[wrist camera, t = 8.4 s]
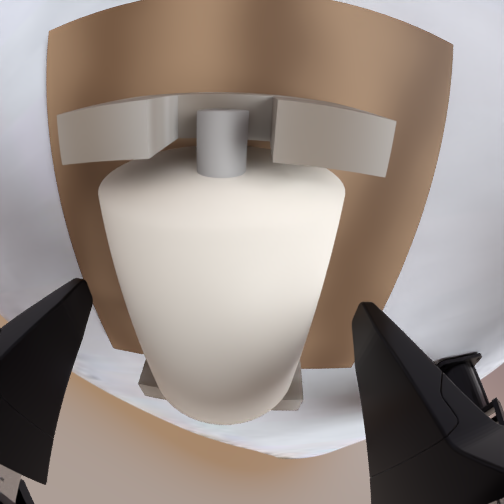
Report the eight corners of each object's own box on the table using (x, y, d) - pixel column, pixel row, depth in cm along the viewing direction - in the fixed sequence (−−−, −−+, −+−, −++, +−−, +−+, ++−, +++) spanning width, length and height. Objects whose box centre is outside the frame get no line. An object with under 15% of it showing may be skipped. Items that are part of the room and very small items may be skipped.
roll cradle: (440, 45, 7) (540, 49, 2) (348, 356, 18) (362, 430, 13) (61, 32, 7) (-36, 34, 2) (117, 338, 18) (91, 406, 13)
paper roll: (319, 111, 8) (413, 154, 3) (282, 331, 14) (293, 435, 10) (145, 106, 8) (29, 148, 3) (171, 326, 14) (150, 427, 9)
